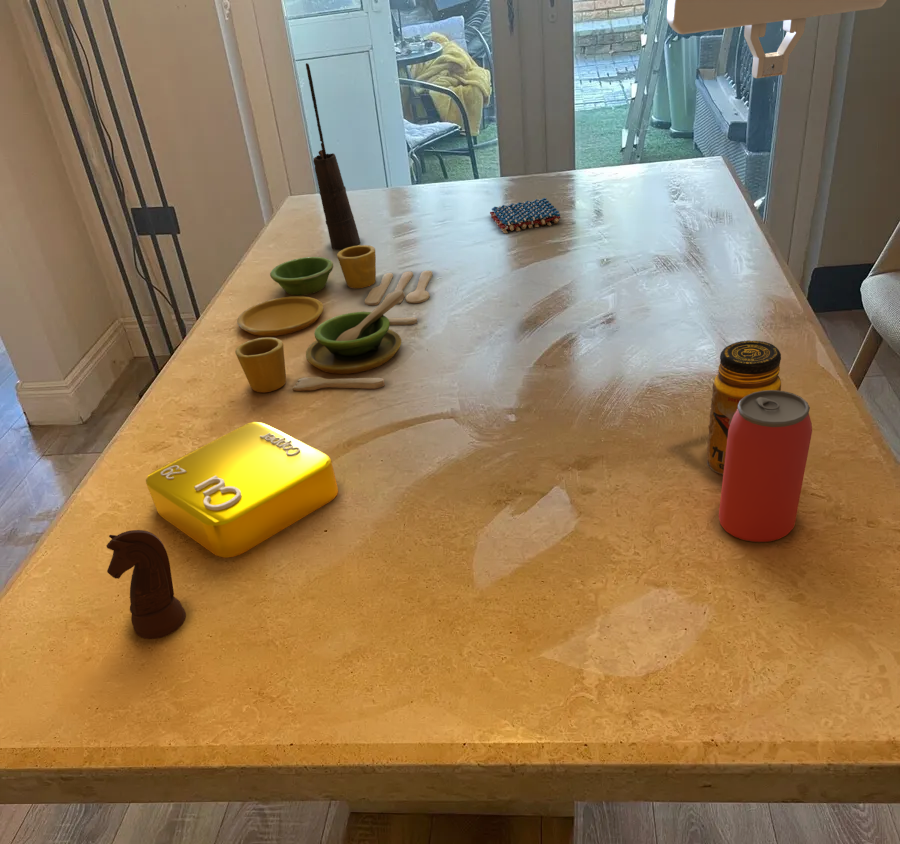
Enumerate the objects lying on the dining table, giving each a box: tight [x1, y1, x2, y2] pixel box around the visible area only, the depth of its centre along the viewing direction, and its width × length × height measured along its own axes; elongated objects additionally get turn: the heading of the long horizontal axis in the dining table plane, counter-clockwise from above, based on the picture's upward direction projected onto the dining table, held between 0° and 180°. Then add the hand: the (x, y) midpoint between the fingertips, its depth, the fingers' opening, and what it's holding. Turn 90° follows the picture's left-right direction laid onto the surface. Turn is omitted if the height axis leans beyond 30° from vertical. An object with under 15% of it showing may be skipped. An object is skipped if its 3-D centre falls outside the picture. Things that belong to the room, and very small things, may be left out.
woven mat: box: [489, 197, 561, 234], centre depth 147 cm, size 10×11×2 cm
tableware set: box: [234, 244, 433, 393], centre depth 120 cm, size 41×28×6 cm
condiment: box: [706, 340, 782, 476], centre depth 81 cm, size 7×8×12 cm
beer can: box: [718, 390, 813, 543], centre depth 73 cm, size 7×7×12 cm
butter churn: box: [305, 62, 361, 251], centre depth 141 cm, size 9×10×28 cm
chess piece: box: [106, 529, 187, 640], centre depth 73 cm, size 5×5×10 cm
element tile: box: [145, 421, 339, 559], centre depth 88 cm, size 15×15×5 cm
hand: (768, 75), depth 83 cm, fingers closed
